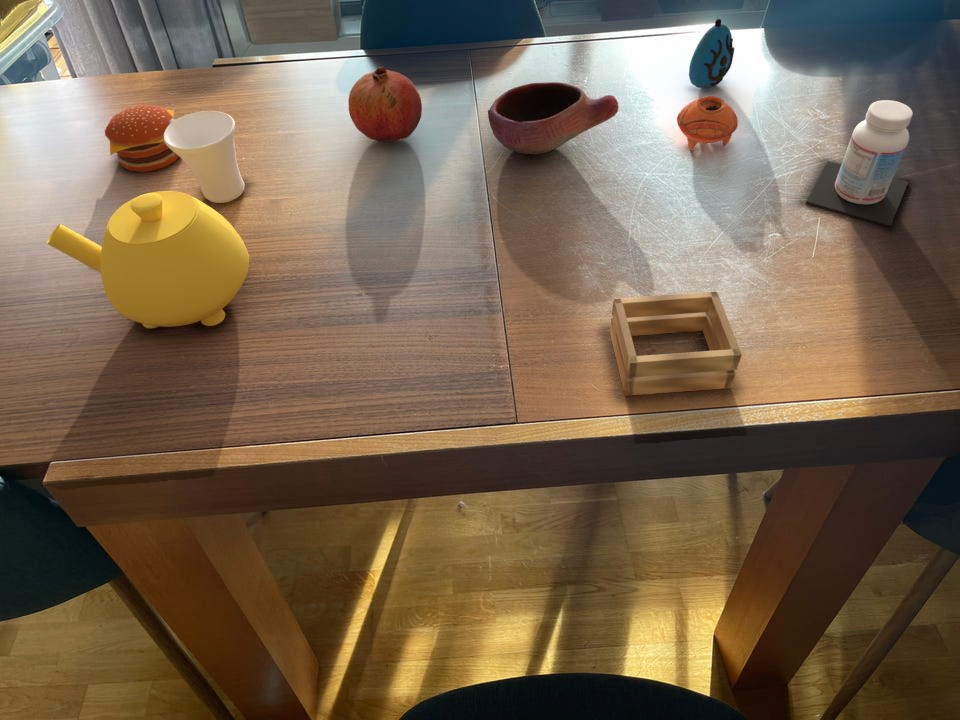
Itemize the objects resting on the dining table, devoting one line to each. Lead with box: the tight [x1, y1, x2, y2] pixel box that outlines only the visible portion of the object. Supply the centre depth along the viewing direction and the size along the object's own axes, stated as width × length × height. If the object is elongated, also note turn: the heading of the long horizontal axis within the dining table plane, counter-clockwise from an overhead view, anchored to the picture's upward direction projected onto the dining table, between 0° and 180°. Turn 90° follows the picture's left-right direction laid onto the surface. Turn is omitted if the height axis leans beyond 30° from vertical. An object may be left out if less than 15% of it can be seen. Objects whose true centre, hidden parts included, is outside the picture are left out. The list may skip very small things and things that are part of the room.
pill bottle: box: [835, 99, 914, 204], centre depth 88 cm, size 6×6×11 cm
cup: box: [164, 110, 246, 204], centre depth 96 cm, size 9×9×10 cm
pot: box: [676, 95, 739, 150], centre depth 100 cm, size 8×8×7 cm
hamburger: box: [104, 104, 180, 173], centre depth 104 cm, size 9×10×7 cm
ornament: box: [688, 18, 735, 89], centre depth 108 cm, size 8×5×10 cm, turn 132°
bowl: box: [487, 81, 620, 155], centre depth 101 cm, size 16×13×8 cm
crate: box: [609, 290, 743, 397], centre depth 74 cm, size 11×9×5 cm
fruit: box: [348, 66, 423, 142], centre depth 103 cm, size 11×10×10 cm
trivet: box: [805, 160, 909, 228], centre depth 93 cm, size 10×10×1 cm
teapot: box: [46, 190, 250, 329], centre depth 81 cm, size 20×16×14 cm
